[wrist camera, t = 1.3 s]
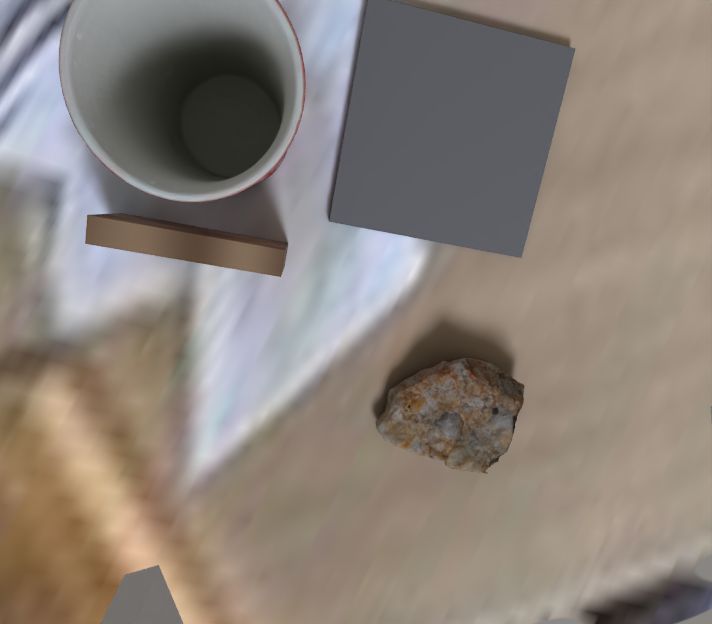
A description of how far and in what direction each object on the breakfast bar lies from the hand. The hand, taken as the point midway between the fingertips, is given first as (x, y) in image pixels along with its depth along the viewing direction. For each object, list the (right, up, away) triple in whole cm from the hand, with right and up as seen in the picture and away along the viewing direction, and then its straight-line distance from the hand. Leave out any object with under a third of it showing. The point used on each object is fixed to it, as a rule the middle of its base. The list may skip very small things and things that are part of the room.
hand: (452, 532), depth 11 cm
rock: (+5, -2, +26) cm, 27 cm away
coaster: (+4, +17, +21) cm, 28 cm away
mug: (-11, +18, +20) cm, 29 cm away
